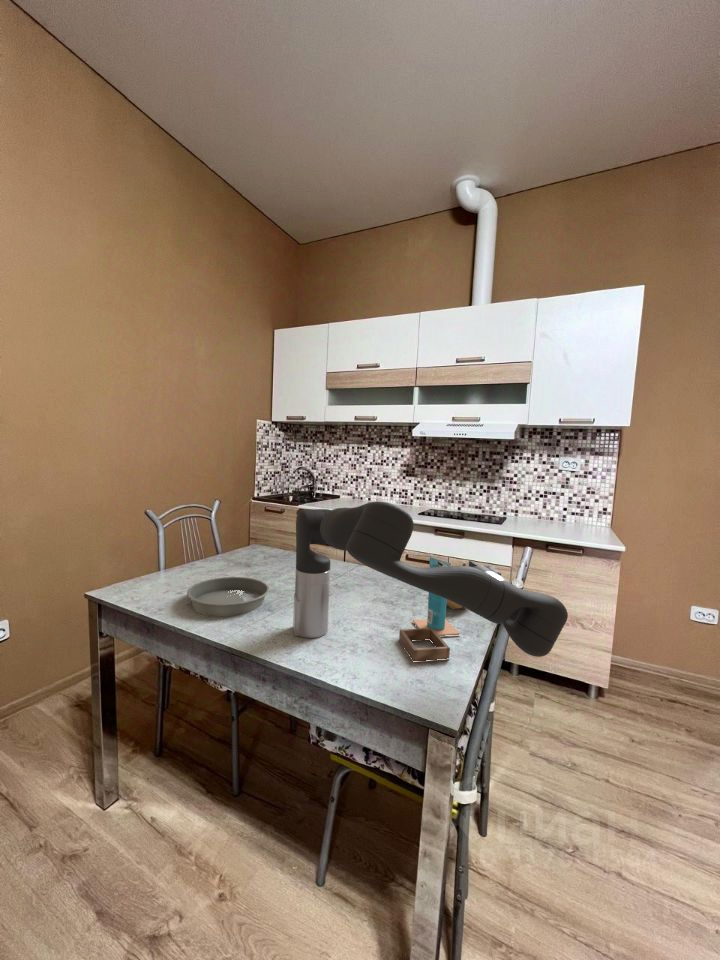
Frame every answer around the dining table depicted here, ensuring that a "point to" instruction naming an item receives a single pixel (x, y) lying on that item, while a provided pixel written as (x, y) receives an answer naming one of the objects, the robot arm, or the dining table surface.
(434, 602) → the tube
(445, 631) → the coaster
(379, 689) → the dining table surface
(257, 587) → the cake pan
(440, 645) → the wooden tray
